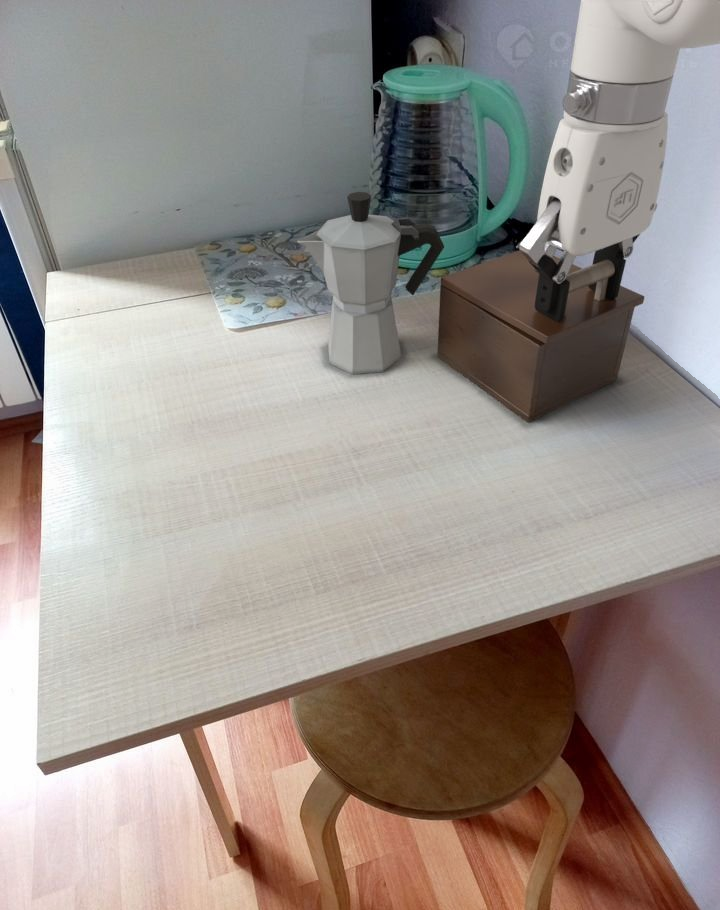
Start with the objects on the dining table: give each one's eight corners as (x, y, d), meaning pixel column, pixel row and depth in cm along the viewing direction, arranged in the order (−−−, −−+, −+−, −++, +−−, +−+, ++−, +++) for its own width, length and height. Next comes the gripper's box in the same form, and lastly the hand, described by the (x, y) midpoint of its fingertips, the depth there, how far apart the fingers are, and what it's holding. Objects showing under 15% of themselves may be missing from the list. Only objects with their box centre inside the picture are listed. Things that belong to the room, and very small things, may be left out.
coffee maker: (309, 379, 76) (294, 217, 65) (306, 337, 83) (292, 182, 71) (446, 368, 77) (455, 206, 65) (432, 327, 84) (438, 173, 72)
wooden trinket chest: (617, 380, 74) (635, 305, 69) (527, 422, 69) (539, 346, 64) (521, 322, 84) (530, 252, 78) (437, 356, 79) (440, 284, 73)
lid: (643, 303, 68) (653, 258, 65) (546, 344, 63) (553, 297, 60) (530, 252, 78) (535, 211, 75) (440, 284, 73) (441, 241, 70)
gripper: (570, 132, 49) (535, 351, 61) (729, 88, 56) (669, 293, 68) (498, 107, 54) (479, 314, 66) (652, 70, 61) (609, 264, 72)
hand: (576, 302), depth 67 cm, fingers closed on lid, 6 cm apart
